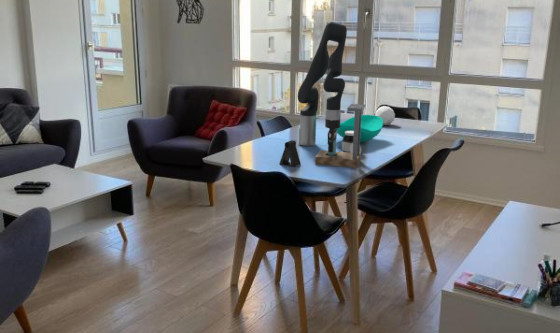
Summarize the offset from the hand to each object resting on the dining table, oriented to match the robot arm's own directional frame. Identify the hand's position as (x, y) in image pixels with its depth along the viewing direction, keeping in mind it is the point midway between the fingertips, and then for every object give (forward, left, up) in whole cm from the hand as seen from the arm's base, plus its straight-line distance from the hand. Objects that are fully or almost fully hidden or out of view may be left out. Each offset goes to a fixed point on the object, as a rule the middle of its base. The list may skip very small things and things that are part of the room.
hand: (331, 150), depth 283 cm
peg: (0, 0, -6) cm, 6 cm away
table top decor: (+6, +51, -6) cm, 52 cm away
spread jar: (+8, +21, -6) cm, 23 cm away
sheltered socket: (+4, 0, -6) cm, 7 cm away
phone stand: (-19, -11, -6) cm, 23 cm away
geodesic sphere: (+18, +108, -6) cm, 110 cm away
